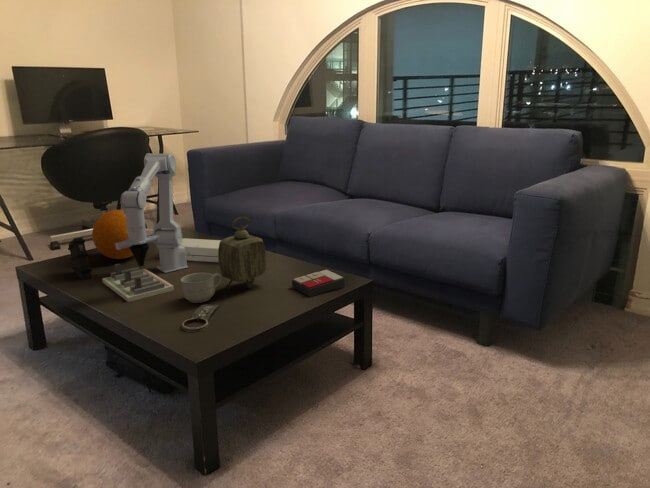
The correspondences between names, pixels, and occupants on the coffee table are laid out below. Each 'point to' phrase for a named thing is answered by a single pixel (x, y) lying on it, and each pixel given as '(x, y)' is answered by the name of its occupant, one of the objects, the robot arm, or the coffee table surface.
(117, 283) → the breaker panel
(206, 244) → the laminator
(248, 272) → the tabletop clock
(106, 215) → the decorative sphere
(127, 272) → the breaker mid
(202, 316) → the metal bottle opener
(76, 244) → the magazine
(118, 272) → the block
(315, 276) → the red white labeled box
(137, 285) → the breaker
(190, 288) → the teacup
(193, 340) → the coffee table surface
